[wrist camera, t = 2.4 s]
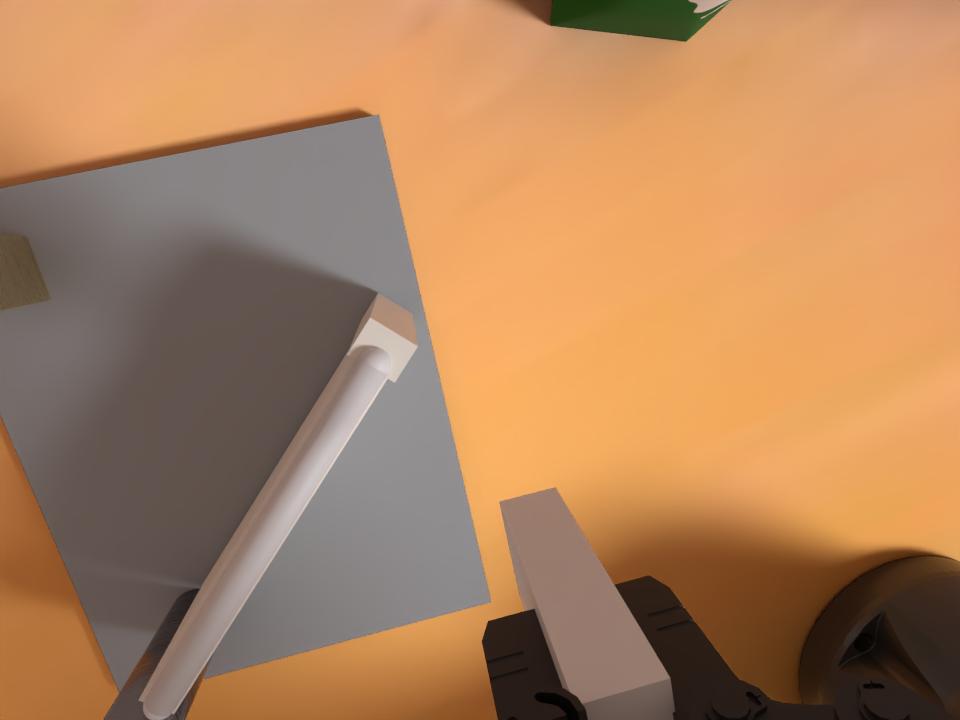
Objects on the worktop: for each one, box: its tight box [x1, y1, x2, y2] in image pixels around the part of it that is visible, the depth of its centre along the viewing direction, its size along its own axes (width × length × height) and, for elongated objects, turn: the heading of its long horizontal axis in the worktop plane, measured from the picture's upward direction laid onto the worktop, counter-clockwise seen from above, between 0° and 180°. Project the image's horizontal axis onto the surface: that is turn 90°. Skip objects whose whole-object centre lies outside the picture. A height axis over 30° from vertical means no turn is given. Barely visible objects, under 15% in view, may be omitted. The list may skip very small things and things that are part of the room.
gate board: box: [0, 115, 491, 693], centre depth 31 cm, size 27×21×1 cm
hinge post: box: [104, 589, 216, 720], centre depth 28 cm, size 3×3×10 cm
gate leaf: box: [139, 292, 418, 720], centre depth 26 cm, size 18×2×9 cm, turn 147°
